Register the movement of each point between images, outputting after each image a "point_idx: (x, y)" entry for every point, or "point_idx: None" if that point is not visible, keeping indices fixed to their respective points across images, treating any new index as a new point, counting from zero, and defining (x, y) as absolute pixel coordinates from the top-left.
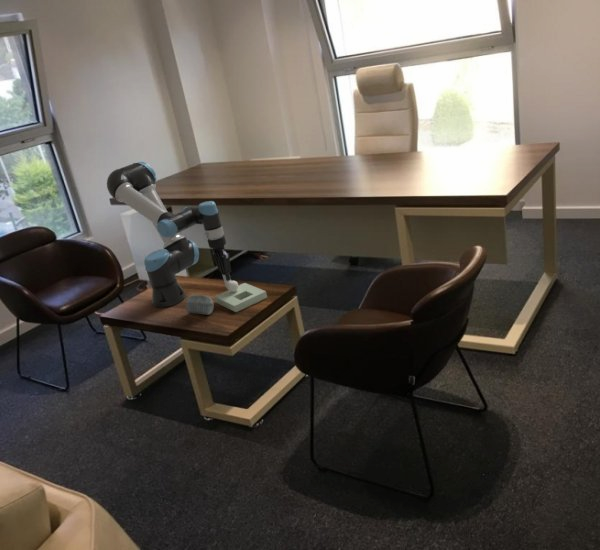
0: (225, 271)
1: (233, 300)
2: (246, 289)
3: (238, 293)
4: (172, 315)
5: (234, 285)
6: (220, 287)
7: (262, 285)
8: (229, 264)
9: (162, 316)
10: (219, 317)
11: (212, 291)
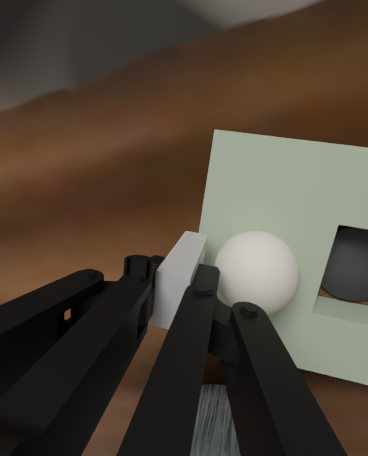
0: (235, 379)
1: (360, 349)
2: (325, 206)
3: (312, 270)
4: (110, 442)
5: (297, 289)
6: (53, 187)
7: (295, 41)
8: (317, 426)
9: (82, 453)
10: (347, 421)
11: (58, 237)
